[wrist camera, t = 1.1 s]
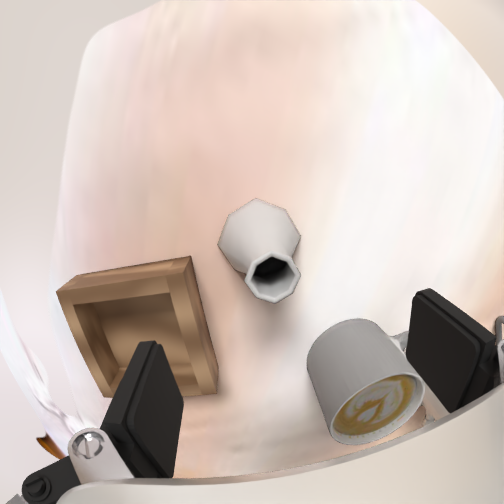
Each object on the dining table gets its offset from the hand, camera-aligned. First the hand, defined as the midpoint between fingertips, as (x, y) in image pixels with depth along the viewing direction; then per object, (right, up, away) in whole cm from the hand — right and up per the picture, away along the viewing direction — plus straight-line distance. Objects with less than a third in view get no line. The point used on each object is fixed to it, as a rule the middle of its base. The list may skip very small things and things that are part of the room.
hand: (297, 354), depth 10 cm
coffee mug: (+11, -8, +22) cm, 26 cm away
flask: (-1, +5, +17) cm, 18 cm away
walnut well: (-13, -4, +19) cm, 23 cm away
